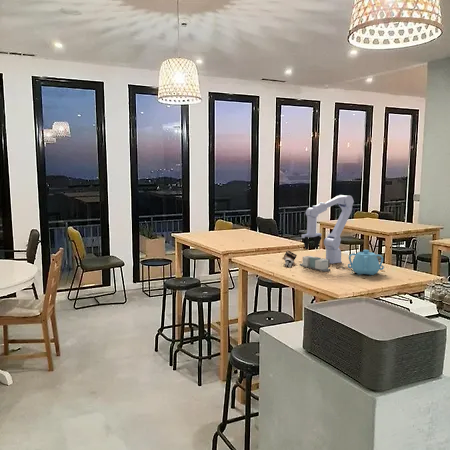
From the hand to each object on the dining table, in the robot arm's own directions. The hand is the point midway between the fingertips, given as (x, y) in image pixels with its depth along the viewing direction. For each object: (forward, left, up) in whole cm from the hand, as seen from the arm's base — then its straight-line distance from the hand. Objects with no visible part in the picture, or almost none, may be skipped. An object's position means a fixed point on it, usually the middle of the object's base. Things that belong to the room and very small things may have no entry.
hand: (311, 248), depth 284 cm
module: (+6, +11, -9) cm, 15 cm away
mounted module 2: (+6, +16, -10) cm, 20 cm away
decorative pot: (-9, +36, -10) cm, 38 cm away
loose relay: (-4, +7, -10) cm, 13 cm away
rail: (+6, +10, -10) cm, 15 cm away
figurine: (+13, -6, -10) cm, 18 cm away
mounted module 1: (+6, +5, -10) cm, 12 cm away
